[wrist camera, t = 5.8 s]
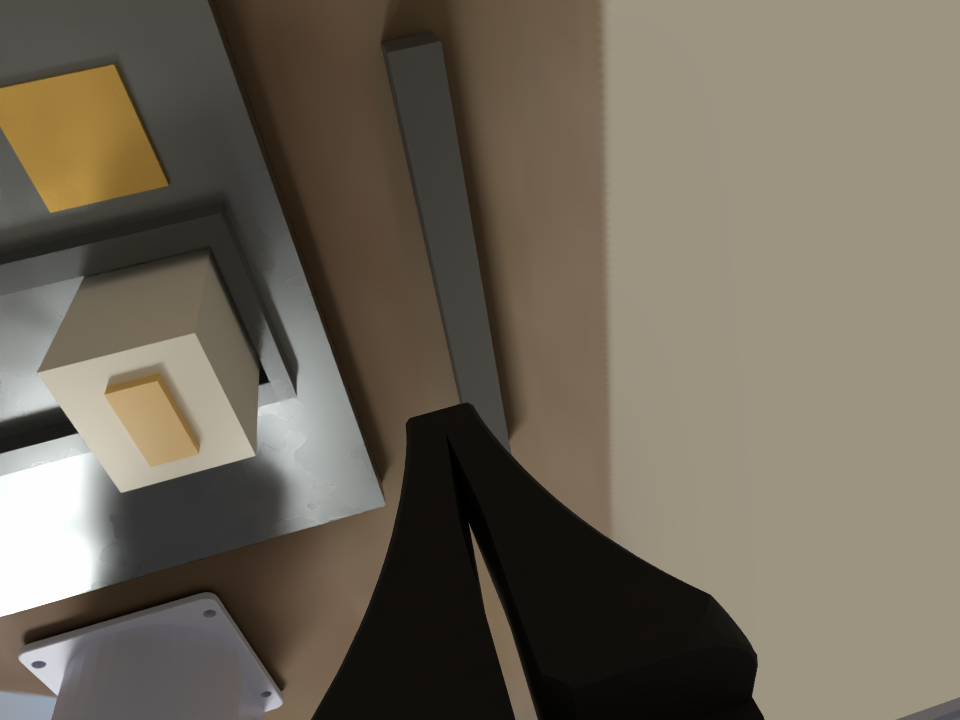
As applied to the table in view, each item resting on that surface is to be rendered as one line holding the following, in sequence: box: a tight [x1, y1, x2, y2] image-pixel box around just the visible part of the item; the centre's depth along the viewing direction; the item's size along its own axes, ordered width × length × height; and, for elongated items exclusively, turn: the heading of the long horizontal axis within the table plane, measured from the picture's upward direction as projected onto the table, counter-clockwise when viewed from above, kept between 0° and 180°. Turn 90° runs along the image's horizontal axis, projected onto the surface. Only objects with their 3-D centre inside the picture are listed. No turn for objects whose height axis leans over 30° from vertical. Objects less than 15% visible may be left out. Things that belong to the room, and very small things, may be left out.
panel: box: [0, 0, 386, 617], centre depth 20 cm, size 20×16×2 cm
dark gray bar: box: [381, 32, 511, 454], centre depth 22 cm, size 16×1×1 cm, turn 8°
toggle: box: [37, 248, 260, 493], centre depth 18 cm, size 4×4×5 cm
